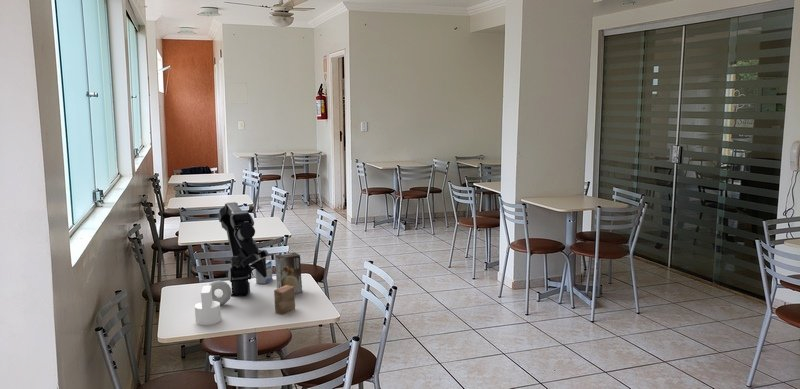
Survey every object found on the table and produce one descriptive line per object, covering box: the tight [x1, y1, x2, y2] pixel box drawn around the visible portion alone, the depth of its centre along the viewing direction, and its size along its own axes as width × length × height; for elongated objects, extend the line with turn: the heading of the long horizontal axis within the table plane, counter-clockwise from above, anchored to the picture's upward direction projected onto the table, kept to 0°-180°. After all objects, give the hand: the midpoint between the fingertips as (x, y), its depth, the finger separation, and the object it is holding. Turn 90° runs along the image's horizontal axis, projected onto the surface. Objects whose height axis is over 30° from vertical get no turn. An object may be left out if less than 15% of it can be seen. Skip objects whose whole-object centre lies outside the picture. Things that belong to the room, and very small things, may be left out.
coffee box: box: [274, 251, 303, 294], centre depth 259 cm, size 9×6×16 cm
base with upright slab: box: [194, 284, 222, 326], centre depth 227 cm, size 9×9×12 cm
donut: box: [207, 280, 232, 306], centre depth 244 cm, size 10×4×10 cm, turn 101°
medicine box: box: [254, 259, 273, 285], centre depth 275 cm, size 8×4×9 cm, turn 168°
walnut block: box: [273, 285, 296, 315], centre depth 236 cm, size 4×7×9 cm, turn 151°
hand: (265, 276), depth 244 cm, fingers closed
